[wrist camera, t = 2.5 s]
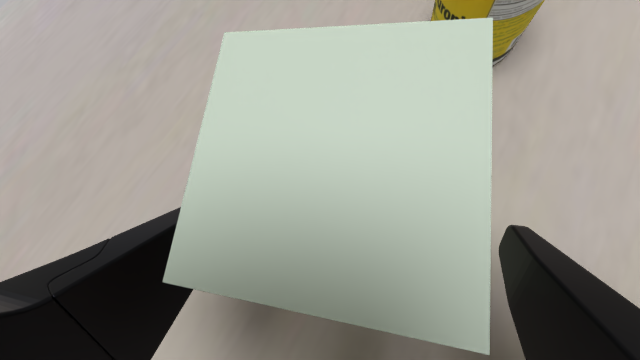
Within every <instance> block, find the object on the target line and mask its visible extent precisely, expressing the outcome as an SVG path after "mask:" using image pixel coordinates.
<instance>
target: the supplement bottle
mask: <svg viewBox="0 0 640 360" xmlns="http://www.w3.org/2000/svg"><path fill="white" fill-rule="evenodd" d="M543 2H544V0H435V4H434V8H433V13H432V18H431V21H441V20H459V19H477V18H493V55H492V65H494V64H496V63H497V62H499V61H500V60H502V59H503V58H504V57H505V56H506V55H507V54H508V53H509V52H510V51H511V49H512V48H513V47H514V45H515V44H516V42H517V41H518V40H519V38H520V36H521V35H522V34H523V32H524V30H525V29H526V28H527V26H528V24H529V23H530V22H531V20H532V18H533V17H534V15H535V14H536V12H537V11H538V9H539V8H540V6H541V5H542V3H543Z"/></svg>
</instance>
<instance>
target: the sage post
mask: <svg viewBox="0 0 640 360" xmlns="http://www.w3.org/2000/svg"><path fill="white" fill-rule="evenodd" d="M492 55H493V18H477V19H459V20H441V21H423V22H405V23H387V24H369V25H351V26H333V27H315V28H297V29H279V30H261V31H243V32H225V33H224V37H223V41H222V45H221V49H220V53H219V57H218V61H217V65H216V69H215V73H214V77H213V81H212V85H211V89H210V93H209V97H208V101H207V105H206V109H205V113H204V117H203V121H202V125H201V129H200V133H199V137H198V141H197V145H196V149H195V153H194V157H193V161H192V165H191V169H190V173H189V177H188V181H187V185H186V189H185V193H184V197H183V201H182V205H181V209H180V213H179V218H178V222H177V226H176V230H175V234H174V238H173V242H172V246H171V250H170V254H169V258H168V262H167V266H166V270H165V274H164V278H163V282H164V283H169V284H173V285H177V286H182V287H186V288H191V289H195V290H200V291H204V292H209V293H213V294H218V295H222V296H227V297H231V298H236V299H240V300H245V301H249V302H254V303H258V304H263V305H267V306H271V307H276V308H280V309H285V310H289V311H294V312H298V313H303V314H307V315H312V316H316V317H321V318H325V319H330V320H334V321H339V322H343V323H348V324H352V325H357V326H361V327H365V328H370V329H374V330H379V331H383V332H388V333H392V334H397V335H401V336H406V337H410V338H415V339H419V340H424V341H428V342H433V343H437V344H442V345H446V346H451V347H455V348H459V349H464V350H468V351H473V352H477V353H482V354H486V355H490V265H491V160H492Z"/></svg>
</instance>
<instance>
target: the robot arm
mask: <svg viewBox="0 0 640 360" xmlns="http://www.w3.org/2000/svg"><path fill="white" fill-rule="evenodd" d="M180 209H181V207H180V208H178V209H175V210H173V211H171V212H168V213H166V214H164V215H162V216H159V217H157V218H155V219H152V220H150V221H148V222H146V223H143V224H141V225H139V226H136V227H134V228H132V229H130V230H127V231H125V232H123V233H120V234H118V235H116V236H114V237H112V238H111V239H107V240H104V241H102V242H100V243H98V244H95V245H93V246H91V247H88V248H86V249H83V250H81V251H79V252H76V253H74V254H71V255H69V256H66V257H64V258H61V259H59V260H56V261H54V262H51V263H49V264H46V265H44V266H41V267H38V268H36V269H33V270H31V271H28V272H25V273H23V274H20V275H18V276H15V277H13V278H10V279H7V280H5V281H2V282H0V360H151V359H152V357H153V355H154V354H155V352H156V350H157V349H158V347H159V345H160V344H161V342H162V340H163V339H164V337H165V335H166V334H167V332H168V330H169V329H170V327H171V325H172V324H173V322H174V320H175V319H176V317H177V315H178V314H179V312H180V310H181V309H182V307H183V305H184V304H185V302H186V301H187V299H188V297H189V296H190V294H191V292H192V291H193V289H191V288H186V287H182V286H177V285H173V284H169V283H164V282H163V278H164V274H165V270H166V266H167V262H168V258H169V254H170V250H171V246H172V242H173V238H174V234H175V230H176V226H177V222H178V218H179V213H180ZM499 257H500V262H501V268H502V273H503V279H504V284H505V289H506V295H507V300H508V304H509V308H510V311H511V314H512V318H513V321H514V324H515V327H516V330H517V334H518V337H519V340H520V343H521V346H522V349H523V353H524V356H525V359H526V360H640V308H638V307H637V306H635V305H634V304H633V303H631V302H630V301H629V300H627V299H626V298H624V297H623V296H622V295H620V294H619V293H618V292H616V291H615V290H613V289H612V288H611V287H609V286H608V285H607V284H605V283H604V282H602V281H601V280H600V279H598V278H597V277H596V276H594V275H593V274H591V273H590V272H589V271H587V270H586V269H585V268H583V267H582V266H580V265H579V264H578V263H576V262H575V261H574V260H572V259H571V258H569V257H568V256H567V255H565V254H564V253H563V252H561V251H560V250H558V249H557V248H556V247H554V246H553V245H552V244H550V243H549V242H547V241H546V240H545V239H543V238H542V237H540V236H539V235H538V234H536V233H535V232H534V231H532V230H531V229H529V228H528V227H525V226H518V225H510V226H508V227H507V229H506V231H505V233H504V236H503V238H502V240H501V243H500V245H499Z"/></svg>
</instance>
